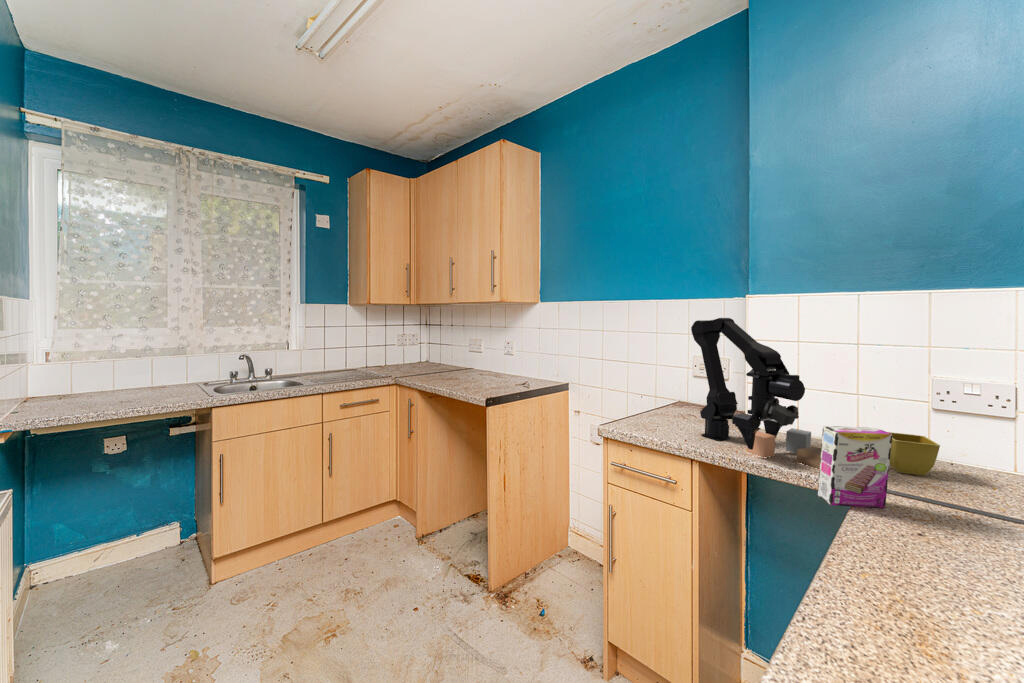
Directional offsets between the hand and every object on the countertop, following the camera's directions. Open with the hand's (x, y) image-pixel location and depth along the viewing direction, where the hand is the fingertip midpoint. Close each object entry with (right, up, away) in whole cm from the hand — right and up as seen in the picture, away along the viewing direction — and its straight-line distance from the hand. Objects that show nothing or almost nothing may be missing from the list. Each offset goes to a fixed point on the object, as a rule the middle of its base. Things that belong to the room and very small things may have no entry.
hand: (760, 446), depth 121 cm
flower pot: (+31, -4, -12) cm, 33 cm away
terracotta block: (0, -2, 0) cm, 2 cm away
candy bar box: (+2, -5, -30) cm, 31 cm away
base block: (+11, -3, -8) cm, 14 cm away
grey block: (+13, -2, +3) cm, 14 cm away
